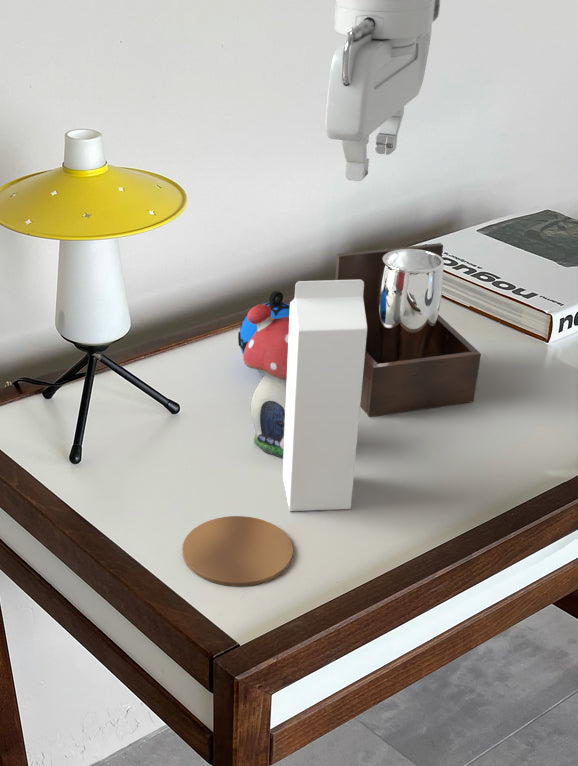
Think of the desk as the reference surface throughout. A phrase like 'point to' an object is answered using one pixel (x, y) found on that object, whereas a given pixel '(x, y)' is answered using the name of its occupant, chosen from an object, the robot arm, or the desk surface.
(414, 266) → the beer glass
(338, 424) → the milk
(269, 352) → the decorative ornament
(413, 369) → the cubby
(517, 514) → the desk surface
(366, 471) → the desk surface
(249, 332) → the ornament
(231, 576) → the coaster
